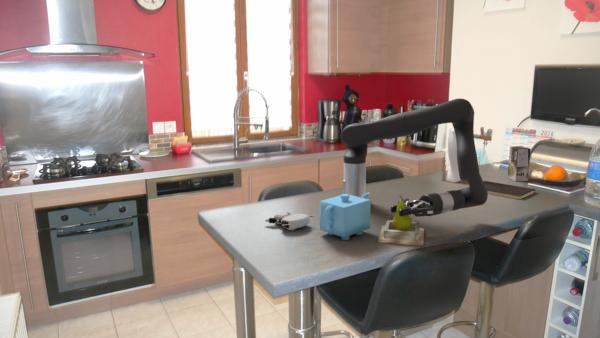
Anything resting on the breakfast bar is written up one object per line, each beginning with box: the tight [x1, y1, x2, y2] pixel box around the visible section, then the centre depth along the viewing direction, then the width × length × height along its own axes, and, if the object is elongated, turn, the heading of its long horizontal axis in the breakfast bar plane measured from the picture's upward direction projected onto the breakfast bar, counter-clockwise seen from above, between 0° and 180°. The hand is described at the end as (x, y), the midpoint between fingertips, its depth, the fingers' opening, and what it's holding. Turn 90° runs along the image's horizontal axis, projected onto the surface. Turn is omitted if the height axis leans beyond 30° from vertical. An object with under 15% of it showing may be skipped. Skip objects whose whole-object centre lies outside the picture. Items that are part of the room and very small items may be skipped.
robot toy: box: [264, 212, 315, 231], centre depth 162 cm, size 12×4×15 cm
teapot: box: [319, 191, 371, 241], centre depth 153 cm, size 22×11×14 cm, turn 132°
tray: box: [378, 219, 425, 246], centre depth 150 cm, size 14×14×4 cm
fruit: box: [392, 194, 413, 231], centre depth 148 cm, size 6×6×12 cm
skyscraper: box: [441, 125, 462, 184], centre depth 222 cm, size 8×8×28 cm
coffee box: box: [507, 145, 532, 182], centre depth 223 cm, size 9×6×16 cm
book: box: [468, 180, 536, 200], centre depth 203 cm, size 16×23×2 cm
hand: (395, 211), depth 147 cm, fingers closed on fruit, 4 cm apart
